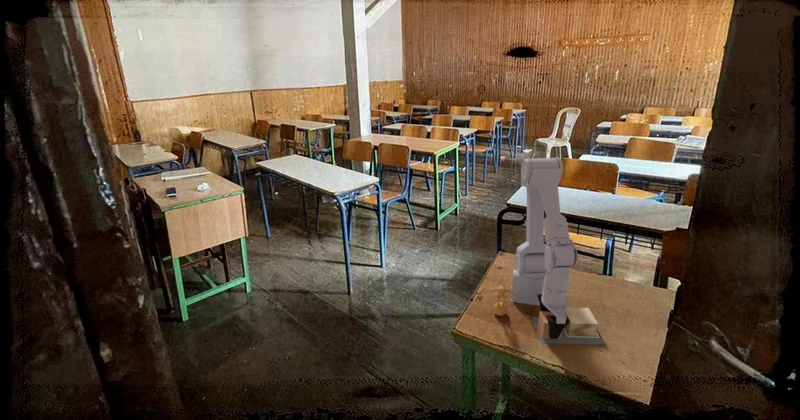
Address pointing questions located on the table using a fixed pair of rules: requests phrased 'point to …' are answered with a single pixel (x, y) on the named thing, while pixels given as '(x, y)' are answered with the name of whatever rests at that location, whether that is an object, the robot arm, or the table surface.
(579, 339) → the mat
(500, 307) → the figurine
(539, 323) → the terracotta cube
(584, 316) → the maple base block
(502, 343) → the table surface
